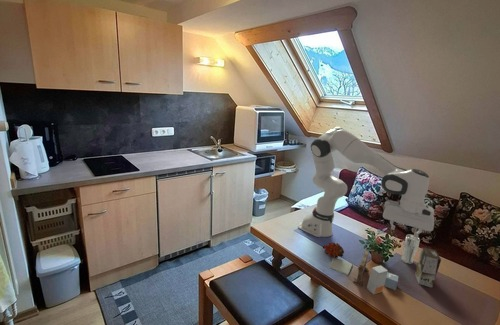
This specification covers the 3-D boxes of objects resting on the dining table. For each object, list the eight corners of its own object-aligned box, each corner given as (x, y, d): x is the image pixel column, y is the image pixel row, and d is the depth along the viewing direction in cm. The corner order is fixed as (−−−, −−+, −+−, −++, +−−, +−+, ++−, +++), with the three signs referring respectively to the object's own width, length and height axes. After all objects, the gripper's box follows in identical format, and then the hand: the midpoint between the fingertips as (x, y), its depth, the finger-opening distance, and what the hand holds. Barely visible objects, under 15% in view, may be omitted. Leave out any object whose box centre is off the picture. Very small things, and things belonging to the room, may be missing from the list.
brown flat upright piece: (362, 286, 128) (366, 267, 125) (353, 282, 130) (357, 263, 127) (367, 269, 141) (372, 251, 138) (359, 265, 143) (363, 248, 140)
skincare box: (373, 295, 123) (378, 273, 120) (366, 288, 127) (371, 267, 124) (382, 292, 126) (388, 270, 122) (375, 285, 129) (380, 264, 126)
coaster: (328, 267, 140) (328, 266, 140) (333, 258, 148) (333, 257, 148) (347, 275, 135) (348, 274, 135) (352, 265, 143) (352, 264, 143)
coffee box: (432, 288, 131) (441, 260, 127) (418, 284, 133) (426, 256, 129) (428, 276, 139) (436, 249, 135) (414, 273, 141) (421, 246, 137)
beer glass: (415, 265, 148) (422, 241, 144) (402, 263, 149) (408, 239, 145) (411, 258, 154) (417, 235, 150) (398, 255, 156) (404, 233, 151)
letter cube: (384, 285, 130) (386, 276, 128) (385, 280, 134) (387, 271, 133) (395, 290, 127) (397, 281, 126) (396, 284, 132) (398, 275, 130)
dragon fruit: (344, 263, 144) (322, 259, 151) (347, 251, 150) (326, 248, 157) (340, 252, 140) (319, 249, 148) (344, 240, 146) (323, 238, 153)
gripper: (384, 200, 122) (378, 227, 125) (438, 214, 111) (429, 243, 115) (386, 196, 127) (380, 222, 130) (437, 209, 117) (429, 237, 120)
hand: (403, 232), depth 123 cm, fingers open, 8 cm apart
